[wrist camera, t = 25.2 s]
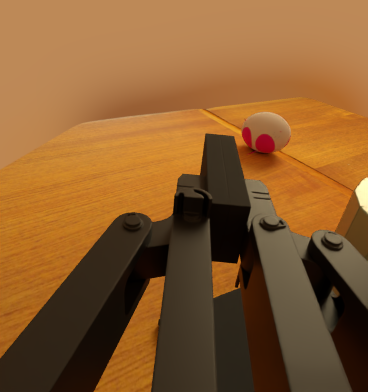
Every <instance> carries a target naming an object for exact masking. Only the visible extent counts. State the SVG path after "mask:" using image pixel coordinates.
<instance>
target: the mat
mask: <svg viewBox="0 0 368 392" xmlns="http://www.w3.org/2000/svg"><path fill="white" fill-rule="evenodd" d="M213 304H214V326H215V347H216V369H217V390H218V392H255V391H254V384H253V376H252V369H251V362H250V354H249V347H248V339H247V332H246V325H245V317H244V310H243V303H242V295H241V288H239V289H236V290H233V291H231V292H228V293H226V294H223V295H221V296H218V297H215V298H213ZM159 324H160V319H159V321H158V325H159Z"/></svg>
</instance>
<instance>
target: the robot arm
mask: <svg viewBox="0 0 368 392" xmlns="http://www.w3.org/2000/svg"><path fill="white" fill-rule="evenodd" d="M239 254H240V259H241V264H240V268H239V272H238V275H237V279H236V283H235V287H236V288H238V285H239V282H240V288H241V295H242V303H243V310H244V317H245V325H246V332H247V339H248V347H249V354H250V362H251V369H252V376H253V384H254V391H255V392H368V261H367V260H366V259H365V258H364V257H363V256H362V255H361V254H360V252H359V251H358V250H357V249H356V248H355V247H354V246H353V245H352V244H351V243H350V242H349V241H348V240H347V239H346V238H344V237H343V236H341V235H339V234H337V233H335V232H332V231H328V230H318V231H315V232H314V233H313V234H312V236H311V238H309V237H306V236H302V235H299V234H296V233H294V232H291V231H290V229H289V226H288V224H287V223H286V221H284V220H283V219H282V218H280V217H278V216H277V215H276V212H275V209H274V206H273V203H272V201H271V198H270V195H269V192H268V189H267V187H266V186H265V185H264V184H263V183H262V182H261V181H260V180H250V179H244V175H243V171H242V167H241V163H240V159H239V155H238V151H237V147H236V143H235V139H234V136H226V135H216V134H206V135H205V142H204V150H203V157H202V165H201V172H200V175H191V174H182V175H181V176H180V177H179V178H178V183H177V191H176V194H175V196H174V208H173V214H172V215H171V216H170V217H169V218H167V219H165V220H162V221H156V222H152V221H151V219H150V218H149V217H148V216H146V215H144V214H141V213H135V212H132V213H125V214H122V215H120V216H119V217H117V218H116V219H115V220H114V221H113V222H112V224H111V225H110V226H109V227H108V228H107V230H106V231H105V232H104V233H103V235H102V236H101V237H100V238H99V239H98V241H97V242H96V243H95V244H94V245H93V247H92V248H91V249H90V250H89V252H88V253H87V254H86V255H85V256H84V258H83V259H82V260H81V261H80V262H79V264H78V265H77V266H76V267H75V269H74V270H73V271H72V272H71V273H70V275H69V276H68V277H67V278H66V279H65V281H64V282H63V283H62V284H61V286H60V287H59V288H58V289H57V290H56V292H55V293H54V294H53V295H52V296H51V298H50V299H49V300H48V301H47V303H46V304H45V305H44V306H43V307H42V309H41V310H40V311H39V312H38V313H37V315H36V316H35V317H34V318H33V320H32V321H31V322H30V323H29V324H28V326H27V327H26V328H25V329H24V330H23V332H22V333H21V334H20V335H19V337H18V338H17V339H16V340H15V341H14V343H13V344H12V345H11V346H10V347H9V349H8V350H7V351H6V352H5V354H4V355H3V356H2V357H1V358H0V392H94V390H95V388H96V386H97V384H98V382H99V380H100V378H101V376H102V374H103V372H104V370H105V368H106V366H107V364H108V362H109V360H110V358H111V357H112V355H113V353H114V351H115V349H116V347H117V345H118V343H119V341H120V339H121V337H122V335H123V333H124V331H125V329H126V327H127V325H128V323H129V321H130V319H131V317H132V315H133V313H134V311H135V309H136V307H137V305H138V303H139V301H140V299H141V297H142V295H143V293H144V292H145V290H146V288H147V286H148V284H149V281H150V278H156V277H162V276H165V283H164V291H163V299H162V307H161V315H160V324H159V332H158V340H157V348H156V356H155V364H154V372H153V380H152V388H151V392H218V390H217V369H216V347H215V326H214V304H213V283H212V261H216V262H226V263H236V264H237V262H238V258H239ZM333 287H335V288H336V290H337V291H338V292H339V296H337V295H336V294H335V293H334V292H333V290H332V289H333Z"/></svg>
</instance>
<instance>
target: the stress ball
mask: <svg viewBox="0 0 368 392" xmlns="http://www.w3.org/2000/svg"><path fill="white" fill-rule="evenodd" d="M242 137H243V139H244V141H245V143H246V144H247V145H248V146H249V147H251V148H252V149H254V150H255V151H253V152H251V153H254V152H257V151H258V152H262V153H273V152H276V151H279V150H281V149H282V148H284V147H285V146H286V145H287V144H288V142H289V140H290V137H291V130H290V127H289V125H288V123H287V122H286V121H285V119H283V118H282V117H281V116H279V115H277V114H275V113H271V112H259V113H256V114H253V115H251V116H250V117H249V118H247V119H246V120H245V122H244V124H243V126H242ZM251 153H249V154H251ZM247 155H248V154H247Z"/></svg>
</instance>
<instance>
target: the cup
mask: <svg viewBox="0 0 368 392" xmlns="http://www.w3.org/2000/svg"><path fill="white" fill-rule="evenodd" d="M335 233H337V234H339V235H341V236H343V237H344V238H346V239H347V240H348V241H349V242H350V243H351V244H352V245H353V246H354V247H355V248H356V249H357V250H358V251H359V252H360V254H361V255H362V256H363V257H364V258H365V259H366V260H367V261H368V178H365V179H362V180H361V181H360V183H359V184H358V185H357V187H356V188H355V190H354V191H353V193H352V196H351V198H350V200H349V202H348V204H347V206H346V209H345V211H344V213H343V215H342V217H341V219H340V222H339V224H338V226H337V228H336V230H335ZM332 290H333V292H334V293H335V294H336V295H337V296H339V292H338V291H337V290H336V288H335V287H333V289H332Z"/></svg>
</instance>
